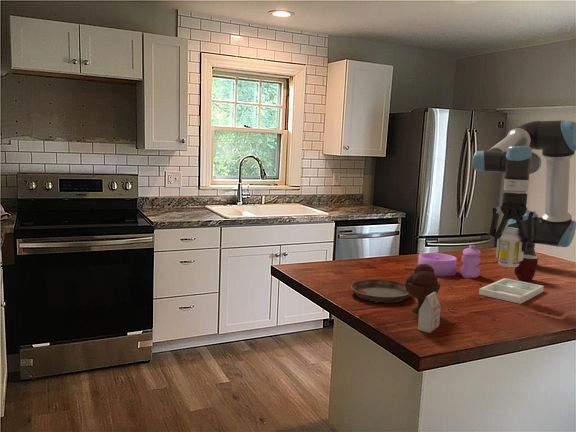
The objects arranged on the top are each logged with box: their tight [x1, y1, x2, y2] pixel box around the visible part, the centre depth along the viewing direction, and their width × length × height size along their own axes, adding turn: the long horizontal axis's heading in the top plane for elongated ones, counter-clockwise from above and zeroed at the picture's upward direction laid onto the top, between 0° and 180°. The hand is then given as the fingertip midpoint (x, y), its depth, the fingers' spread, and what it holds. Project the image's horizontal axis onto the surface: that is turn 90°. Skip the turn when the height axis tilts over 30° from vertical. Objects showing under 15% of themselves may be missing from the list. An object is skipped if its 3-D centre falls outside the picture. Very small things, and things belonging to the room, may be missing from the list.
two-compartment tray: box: [478, 277, 545, 305], centre depth 178 cm, size 22×14×3 cm, turn 135°
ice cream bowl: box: [404, 264, 441, 315], centre depth 155 cm, size 11×11×15 cm
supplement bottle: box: [498, 226, 522, 268], centre depth 172 cm, size 7×7×13 cm
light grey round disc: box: [506, 283, 530, 291], centre depth 181 cm, size 8×8×2 cm
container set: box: [417, 244, 482, 279], centre depth 205 cm, size 25×15×13 cm, turn 52°
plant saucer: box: [350, 278, 411, 304], centre depth 172 cm, size 21×21×3 cm
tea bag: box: [417, 292, 442, 334], centre depth 142 cm, size 4×7×10 cm, turn 143°
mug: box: [514, 254, 539, 282], centre depth 196 cm, size 11×8×10 cm
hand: (509, 258), depth 172 cm, fingers closed on supplement bottle, 7 cm apart
